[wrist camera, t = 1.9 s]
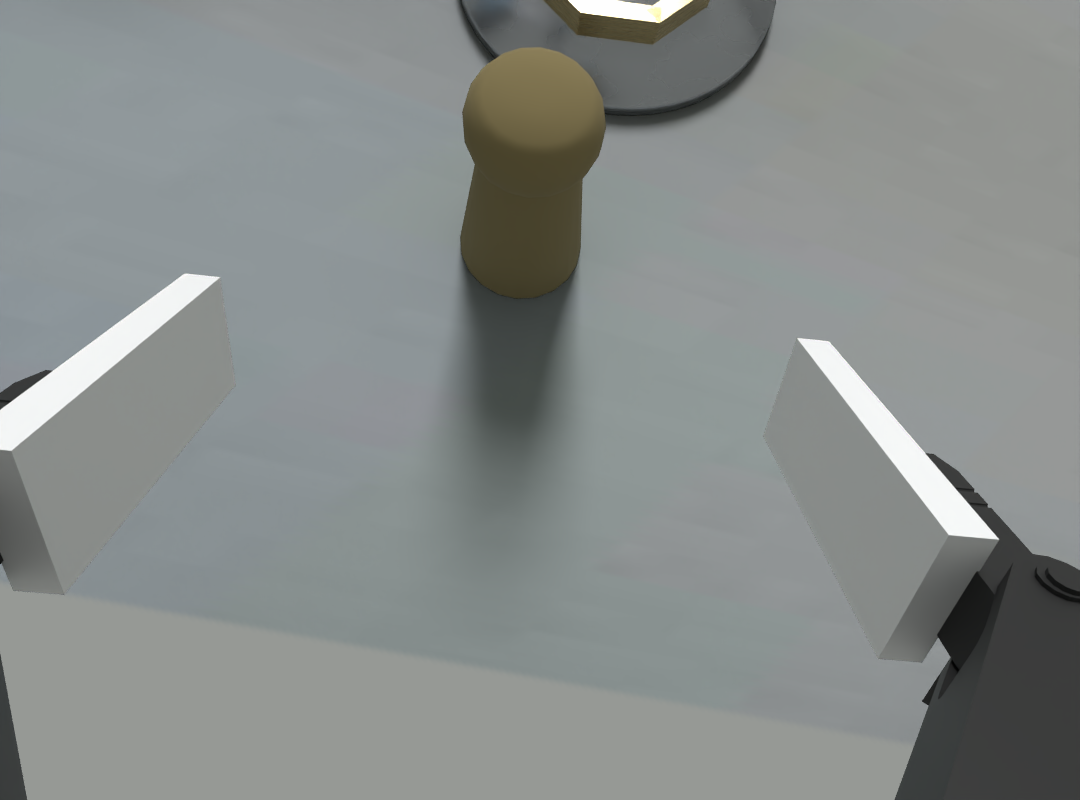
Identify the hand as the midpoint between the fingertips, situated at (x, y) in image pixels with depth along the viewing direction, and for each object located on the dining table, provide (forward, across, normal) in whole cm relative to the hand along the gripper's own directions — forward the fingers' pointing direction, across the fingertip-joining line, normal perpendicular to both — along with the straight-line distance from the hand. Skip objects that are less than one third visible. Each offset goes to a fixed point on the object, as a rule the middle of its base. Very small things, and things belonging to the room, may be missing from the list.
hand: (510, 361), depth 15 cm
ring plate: (+31, +4, +9) cm, 32 cm away
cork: (+19, 0, -3) cm, 19 cm away
